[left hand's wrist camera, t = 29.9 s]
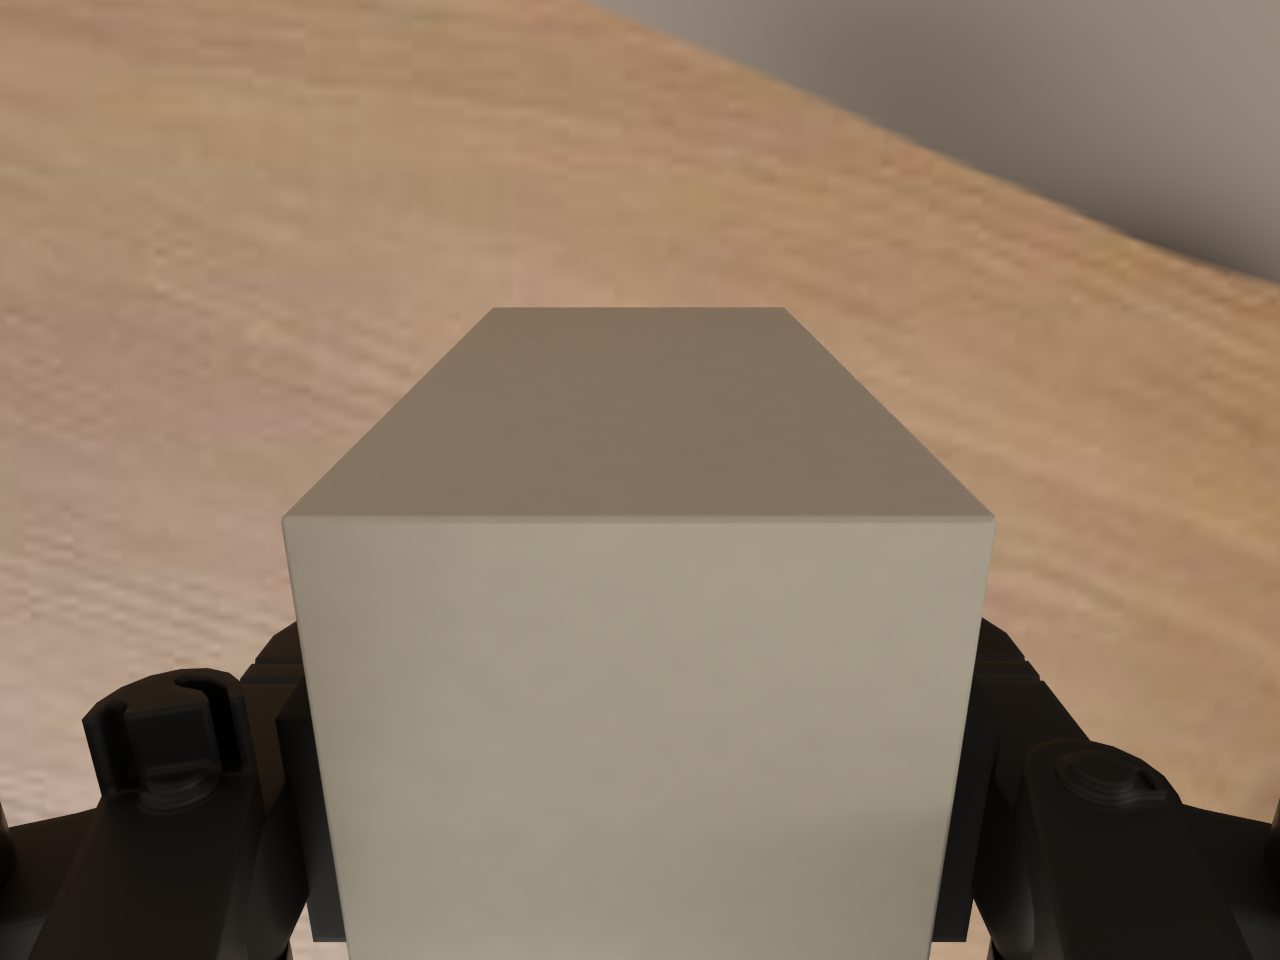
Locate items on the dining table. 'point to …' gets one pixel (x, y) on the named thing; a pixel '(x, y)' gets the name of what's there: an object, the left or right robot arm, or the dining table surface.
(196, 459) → the dining table surface
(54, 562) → the dining table surface
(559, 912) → the brick
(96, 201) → the dining table surface
